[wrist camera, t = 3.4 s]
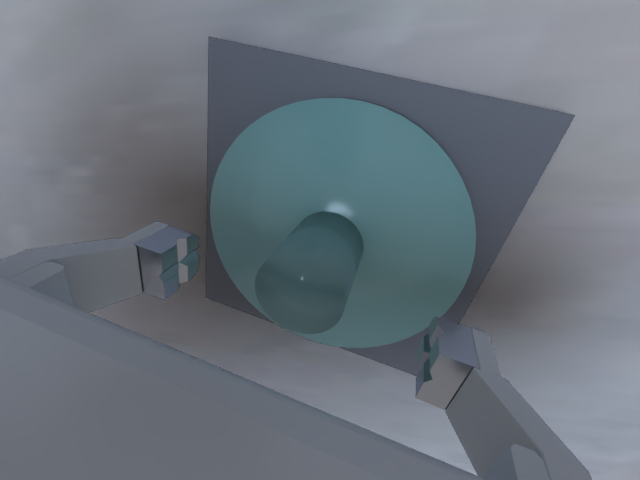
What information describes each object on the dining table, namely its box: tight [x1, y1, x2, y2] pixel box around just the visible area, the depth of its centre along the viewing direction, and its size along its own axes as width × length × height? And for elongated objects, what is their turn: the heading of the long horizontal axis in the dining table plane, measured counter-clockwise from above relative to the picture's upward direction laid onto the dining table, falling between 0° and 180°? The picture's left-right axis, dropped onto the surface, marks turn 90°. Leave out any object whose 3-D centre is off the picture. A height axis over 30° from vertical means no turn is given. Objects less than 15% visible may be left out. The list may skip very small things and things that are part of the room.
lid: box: [210, 98, 476, 348], centre depth 13 cm, size 12×12×5 cm
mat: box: [206, 37, 575, 376], centre depth 15 cm, size 14×14×1 cm
